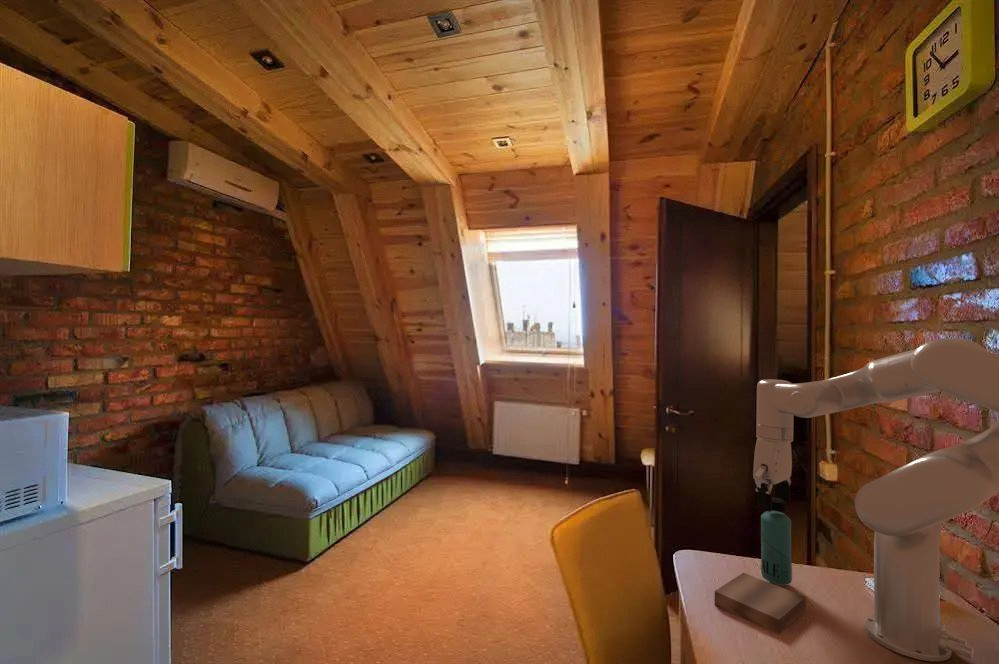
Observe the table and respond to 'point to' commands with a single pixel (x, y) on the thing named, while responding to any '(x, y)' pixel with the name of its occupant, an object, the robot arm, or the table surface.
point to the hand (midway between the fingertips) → (773, 505)
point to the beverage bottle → (776, 544)
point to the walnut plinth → (761, 602)
